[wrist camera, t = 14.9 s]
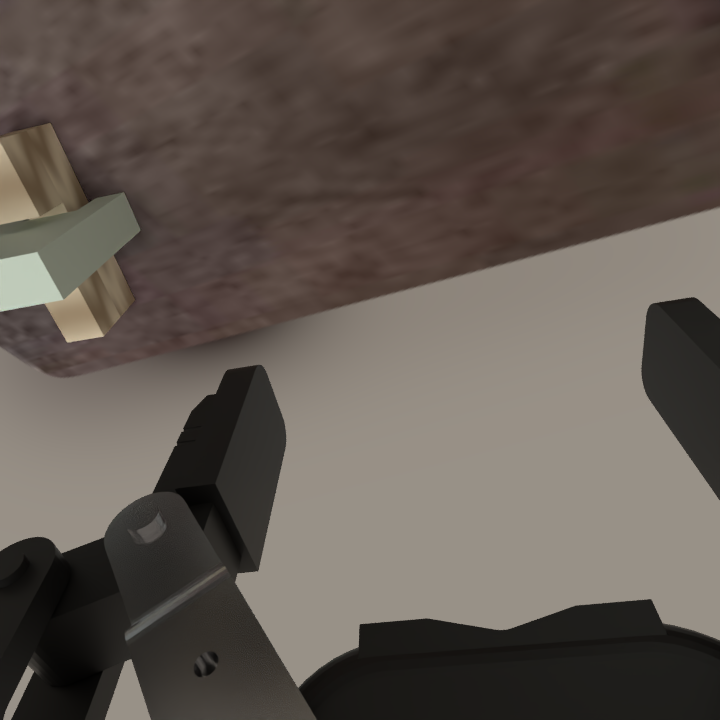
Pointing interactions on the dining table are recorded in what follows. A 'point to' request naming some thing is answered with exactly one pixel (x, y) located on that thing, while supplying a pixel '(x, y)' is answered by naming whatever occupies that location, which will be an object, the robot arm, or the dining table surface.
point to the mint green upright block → (61, 250)
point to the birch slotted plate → (51, 197)
